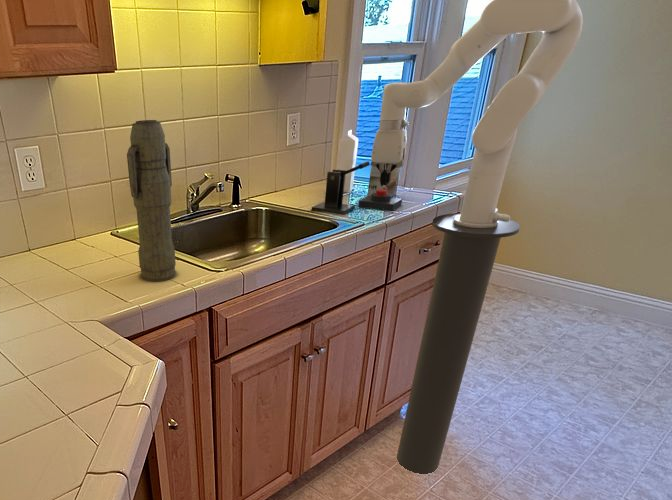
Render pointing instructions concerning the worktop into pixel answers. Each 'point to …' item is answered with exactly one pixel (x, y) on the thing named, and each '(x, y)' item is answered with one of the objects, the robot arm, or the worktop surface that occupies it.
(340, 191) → the black lever stand
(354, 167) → the lever
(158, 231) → the grey stone statue
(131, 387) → the worktop surface
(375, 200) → the control block
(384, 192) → the setting button
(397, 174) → the coffee box
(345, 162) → the milk
